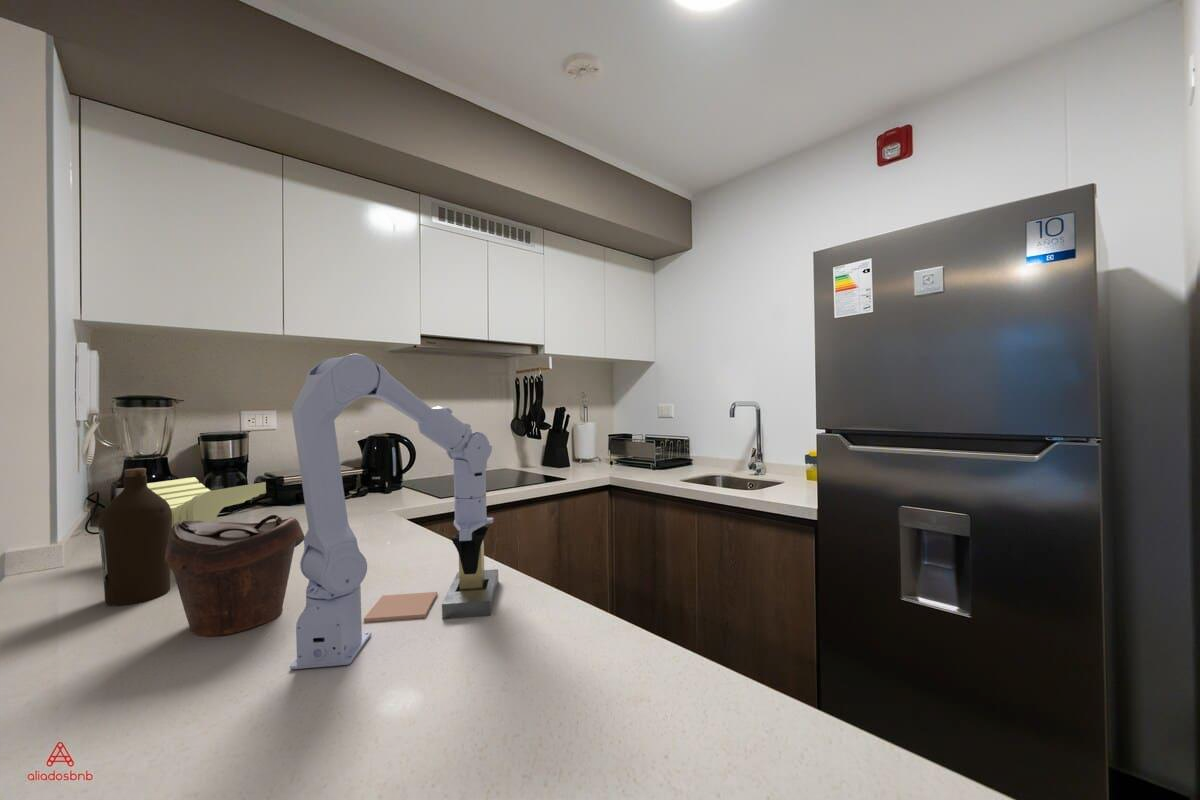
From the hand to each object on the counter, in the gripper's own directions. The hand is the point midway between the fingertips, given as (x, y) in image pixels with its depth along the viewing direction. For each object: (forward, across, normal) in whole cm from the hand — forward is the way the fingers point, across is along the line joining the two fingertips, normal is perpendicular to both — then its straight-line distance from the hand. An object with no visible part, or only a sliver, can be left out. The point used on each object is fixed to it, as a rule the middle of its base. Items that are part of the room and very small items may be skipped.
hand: (472, 569), depth 93 cm
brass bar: (+3, 0, 0) cm, 3 cm away
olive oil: (+6, +13, +66) cm, 68 cm away
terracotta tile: (+6, -2, +12) cm, 13 cm away
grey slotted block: (+6, 0, 0) cm, 6 cm away
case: (+6, -2, +39) cm, 39 cm away
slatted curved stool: (+6, +40, +72) cm, 83 cm away
